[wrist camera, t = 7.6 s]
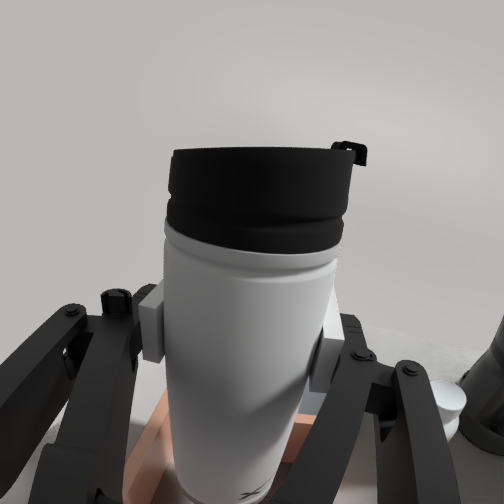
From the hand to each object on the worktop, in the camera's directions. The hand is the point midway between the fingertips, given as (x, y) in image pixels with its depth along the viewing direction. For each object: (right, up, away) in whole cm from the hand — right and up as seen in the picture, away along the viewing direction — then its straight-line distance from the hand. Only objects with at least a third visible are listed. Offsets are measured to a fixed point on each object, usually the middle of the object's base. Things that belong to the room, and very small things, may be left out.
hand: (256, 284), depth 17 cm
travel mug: (-2, -13, -1) cm, 13 cm away
